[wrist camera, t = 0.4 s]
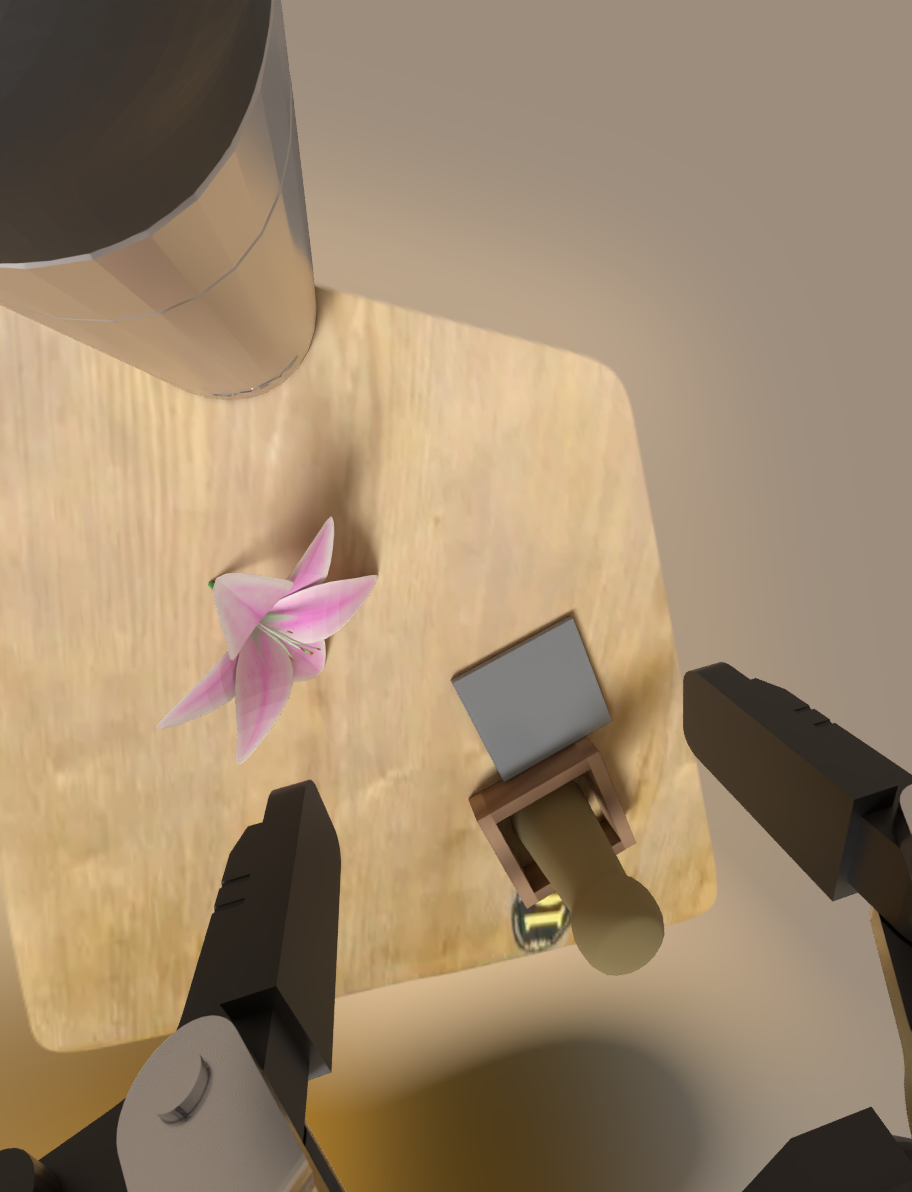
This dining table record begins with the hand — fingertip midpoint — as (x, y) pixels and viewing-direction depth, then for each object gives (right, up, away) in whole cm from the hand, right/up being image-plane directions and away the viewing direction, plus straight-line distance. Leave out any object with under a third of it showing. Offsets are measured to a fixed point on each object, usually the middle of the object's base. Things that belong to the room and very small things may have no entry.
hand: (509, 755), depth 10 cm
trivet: (+4, -4, +23) cm, 23 cm away
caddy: (+6, -13, +26) cm, 29 cm away
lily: (-11, +3, +17) cm, 20 cm away
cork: (+6, -13, +26) cm, 30 cm away
